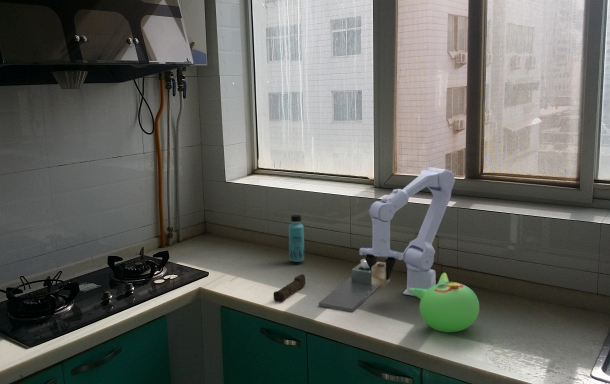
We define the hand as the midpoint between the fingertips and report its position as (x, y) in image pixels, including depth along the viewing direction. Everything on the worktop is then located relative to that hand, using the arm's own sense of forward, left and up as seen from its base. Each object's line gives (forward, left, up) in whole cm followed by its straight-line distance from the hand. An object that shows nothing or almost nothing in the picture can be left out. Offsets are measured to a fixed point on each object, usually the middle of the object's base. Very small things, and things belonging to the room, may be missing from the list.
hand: (381, 277), depth 186 cm
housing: (0, 0, -2) cm, 2 cm away
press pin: (+11, -15, -4) cm, 19 cm away
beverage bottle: (+45, -25, -9) cm, 52 cm away
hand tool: (+32, +5, -9) cm, 33 cm away
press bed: (+11, -3, -8) cm, 14 cm away
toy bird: (-25, +11, -9) cm, 28 cm away
